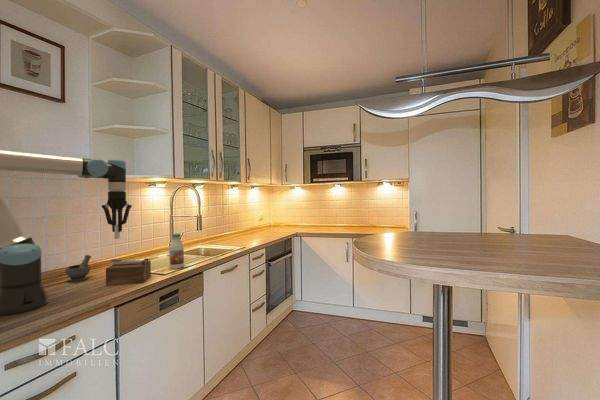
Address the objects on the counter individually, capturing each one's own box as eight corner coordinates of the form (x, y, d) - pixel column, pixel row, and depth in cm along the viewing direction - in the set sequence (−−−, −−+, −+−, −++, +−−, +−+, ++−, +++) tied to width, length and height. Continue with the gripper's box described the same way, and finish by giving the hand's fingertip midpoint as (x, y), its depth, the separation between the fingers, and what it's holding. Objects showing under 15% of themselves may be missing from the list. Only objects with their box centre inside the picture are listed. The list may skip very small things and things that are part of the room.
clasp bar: (145, 264, 144) (145, 261, 144) (107, 263, 139) (107, 260, 139) (147, 262, 147) (147, 259, 147) (110, 262, 143) (110, 259, 143)
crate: (143, 282, 139) (143, 262, 139) (103, 285, 134) (102, 265, 134) (150, 275, 152) (150, 256, 152) (114, 277, 148) (114, 258, 148)
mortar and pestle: (74, 283, 138) (73, 259, 138) (61, 282, 141) (60, 257, 141) (97, 277, 149) (97, 254, 148) (84, 276, 152) (84, 253, 152)
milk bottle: (166, 268, 166) (166, 234, 165) (176, 265, 173) (176, 232, 172) (176, 270, 163) (176, 235, 162) (186, 266, 170) (186, 233, 170)
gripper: (134, 191, 147) (134, 237, 147) (105, 191, 143) (105, 237, 144) (129, 191, 140) (129, 239, 140) (98, 190, 136) (98, 240, 136)
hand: (117, 238), depth 142 cm, fingers closed
